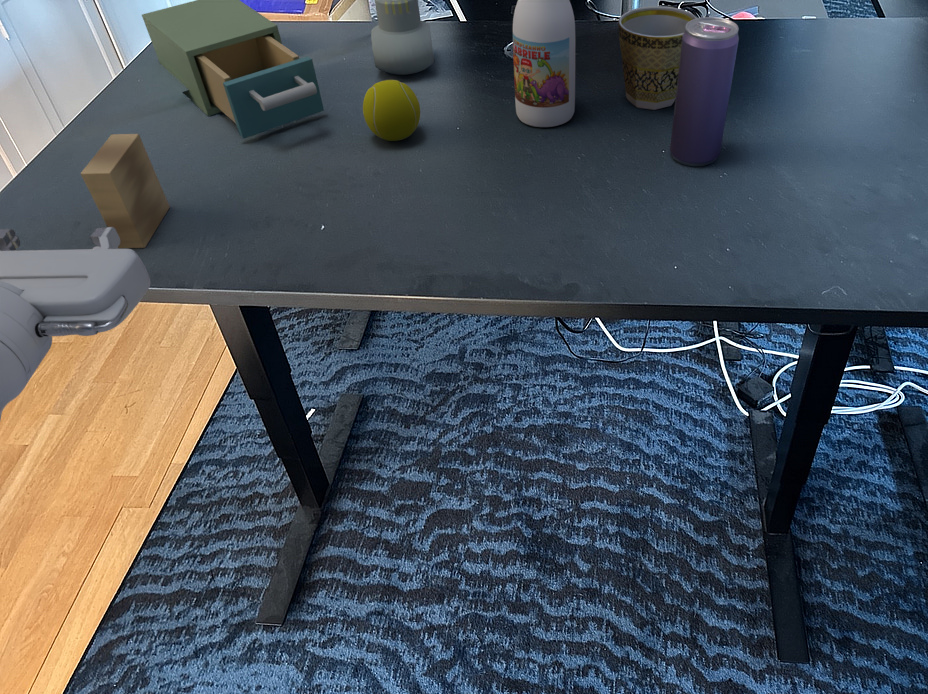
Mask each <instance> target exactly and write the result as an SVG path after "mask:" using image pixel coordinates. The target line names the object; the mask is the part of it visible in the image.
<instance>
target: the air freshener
mask: <svg viewBox="0 0 928 694" xmlns="http://www.w3.org/2000/svg"><path fill="white" fill-rule="evenodd" d="M374 6H375V12H376V18H377V25H375V26H374V27H373V28H372V29H371V31H370V34H371V37H370V38H371V49H372V55H373V61H374V65H375V68H376V69H379V70H380V71H382V72H385V73H388V74H392V75H396V76H397V75H398V76H399V75H400V76H405V75H414V74H418V73H420V72H422V71H424V70H426V69H428V68H429V67H431V66H432V65H433V64H434V63H435V58H434V49H433V42H432V32H431V25H430V24H429V23H427V22H426V21H423V20H421V13H420V5H419V0H374Z"/></svg>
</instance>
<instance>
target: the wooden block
mask: <svg viewBox="0 0 928 694" xmlns="http://www.w3.org/2000/svg"><path fill="white" fill-rule="evenodd" d="M80 176H81V178H82V179H83V182H84V183H85V185H86V187H87V190H88V192H89V194H90V195H91V198H92V200H93V202H94V204H95V206H96V207H97V209H98V212H99V213H100V215H101V217H102V219H103V222H104V223H105V226H106V227H114V228H115V229H116V231H117V233H118V235H119V237H120V245H119V246H118V248H117V249H145V248H146V247H147V245H148V244H149V242H150V241H151V240H152V237H153V236H154V234H155V232H156V230H157V229H158V227H159V226H160V224H161V222H162V221H163V219H164V218H165V216H166V215H167V213H168V211H169V209H170V204H169V201H168V198H167V197H166V194H165V192H164V190H163V187H162V185H161V182H160V180H159V178H158V175H157V173H156V171H155V169H154V166H153V163H152V161H151V158H150V156H149V154H148V152H147V150H146V147H145V145H144V143H143V141H142V138H141V136H140V134H139V133H113V134H110V136H108V138H107V139H106V140H105V142H104V143H103V144H102V145H101V146H100V148H99V150H98V151H97V152H96V153H95V154H94V156H93V157H92V158H91V159H90V161H89V162H88V163H87V164H86V165H85V167H84V168H83V169H82V170H81V172H80Z"/></svg>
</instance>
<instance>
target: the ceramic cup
mask: <svg viewBox="0 0 928 694" xmlns="http://www.w3.org/2000/svg"><path fill="white" fill-rule="evenodd" d="M696 18H698V17H697V16H696V15H695V14H693V13H691V12H690V11H687V10H685V9H681V8H678V7H674V6H664V5H650V6H649V5H648V6H642V7H636V8H633V9H630V10H628V11H626V12H624V13H623V14H621V15H620V16H619V18H618V21H617V24H618V25H617V27H618V40H619V49H620V54H621V61H622V62H621V63H622V72H623V80H624V91H625V98H626V99H627V101H628V102H630V103H631V104H632V105H633V106H634V107H636V108H637V109H645V110H653V111H655V110H659V109H663V108H667V107H671V106H673V104H675V100H676V91H677V82H678V73H679V64H680V55H681V46H682V37H683V34H684V32H685V26H686V24H687V23H688V22H689V21H691V20H693V19H696Z"/></svg>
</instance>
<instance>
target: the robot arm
mask: <svg viewBox="0 0 928 694" xmlns="http://www.w3.org/2000/svg"><path fill="white" fill-rule="evenodd" d="M89 237H90V239H91V241H92V243H93V244H94V245H95V246H93V247H92V248H89V249H88V248H87V249H85V248H83V249H81V248H80V249H78V248H77V249H29V250H28V249H26V250H23V249H22V250H20V249H19V250H17V249H18V248H19V247H20V246H21V240H20V238H19V237H18V236H17V234H16V231H15V229H12V228H0V421H2V420H1V419H2V415H3V412H4V409H5V408H6V407H7V405H9V403H11V402H12V401H14V400H15V399H16V398H18V397H19V396H20V395H21V393H22V392H23V391H24V390H25V388H26V386H27V385H28V384H29V381H30V380H31V379H32V377H33V376H34V374H35V372H36V371H37V369H39V366H40V365H41V363H42V362H43V361H44V359H45V358H46V356H47V354H48V353H49V352H50V350H51V348H52V344H53V337H66V336H81V337H91V336H96V335H98V334H99V333H105V332H108V331H111V330H113V329H115V328H117V327H118V326H119V325H121V323H123V322H124V321H125V320H126V319H127V318H128V317H129V316H130V314H131V313H132V312H133V311H134V310H135V309H136V308H137V306H138V305H139V303H140V302H141V301H142V300H143V299H144V297H145V295H146V294H147V292H148V291H149V289H150V287H151V281H152V280H151V277H150V275H149V272H148V270H147V268H146V266H145V264H144V262H143V261H142V258H141V257H140V256H139V255H138V253H137V252H136V251H135V250H134V249H133V248H118V246H119V245H120V237H119V235H118V233H117V231H116V229H115V228H114V227H107V226H106V227H96V228H95V229H94V231H93V232H92V233H91V235H90V236H89Z"/></svg>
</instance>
